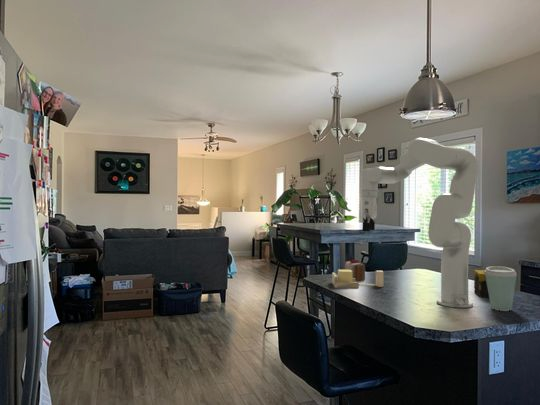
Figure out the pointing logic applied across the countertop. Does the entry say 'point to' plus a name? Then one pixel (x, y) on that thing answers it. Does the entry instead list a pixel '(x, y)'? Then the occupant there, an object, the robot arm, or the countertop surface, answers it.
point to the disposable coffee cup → (500, 287)
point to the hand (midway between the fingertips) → (368, 230)
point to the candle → (480, 284)
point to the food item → (356, 269)
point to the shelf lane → (344, 283)
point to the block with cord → (347, 277)
